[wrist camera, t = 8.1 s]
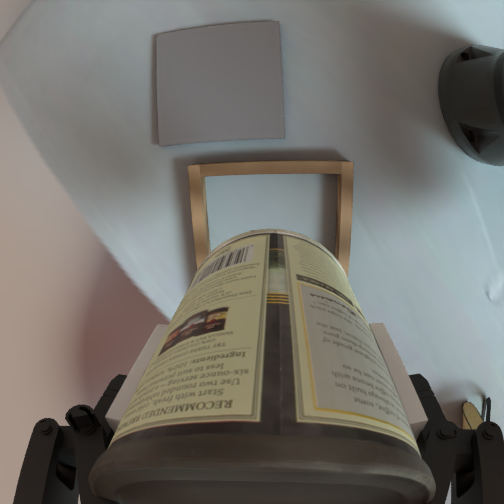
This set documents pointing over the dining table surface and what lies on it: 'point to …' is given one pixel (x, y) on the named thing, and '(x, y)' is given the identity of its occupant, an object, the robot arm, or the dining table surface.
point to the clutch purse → (475, 414)
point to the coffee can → (265, 392)
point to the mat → (220, 83)
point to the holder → (273, 167)
